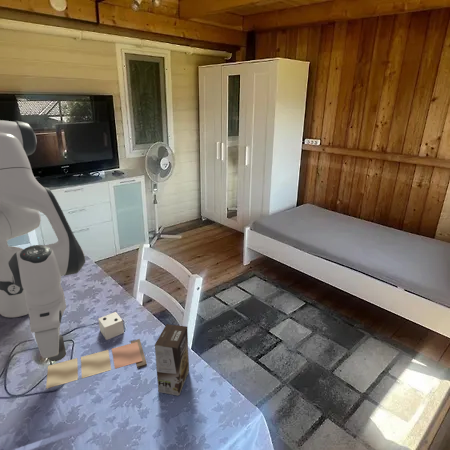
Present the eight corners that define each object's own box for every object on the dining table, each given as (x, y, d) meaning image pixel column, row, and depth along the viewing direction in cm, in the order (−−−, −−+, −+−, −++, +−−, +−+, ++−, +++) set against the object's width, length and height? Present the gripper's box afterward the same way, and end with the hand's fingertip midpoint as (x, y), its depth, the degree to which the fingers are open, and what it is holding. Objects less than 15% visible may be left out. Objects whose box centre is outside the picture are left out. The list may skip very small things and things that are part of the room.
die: (100, 333, 112) (98, 317, 110) (117, 326, 116) (115, 310, 113) (106, 342, 108) (104, 326, 105) (124, 335, 111) (122, 319, 109)
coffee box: (180, 396, 88) (177, 348, 82) (157, 392, 89) (153, 345, 84) (190, 370, 96) (188, 325, 91) (169, 367, 98) (166, 322, 92)
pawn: (49, 352, 94) (44, 329, 91) (66, 348, 95) (61, 325, 92) (48, 363, 90) (43, 339, 87) (65, 358, 91) (61, 335, 89)
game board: (45, 365, 98) (44, 363, 98) (139, 340, 109) (139, 338, 108) (42, 396, 88) (41, 394, 87) (147, 365, 98) (146, 363, 98)
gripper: (37, 287, 94) (45, 327, 99) (29, 332, 77) (39, 377, 82) (61, 283, 96) (68, 322, 101) (58, 325, 79) (67, 369, 84)
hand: (55, 346), depth 91 cm, fingers closed on pawn, 4 cm apart
